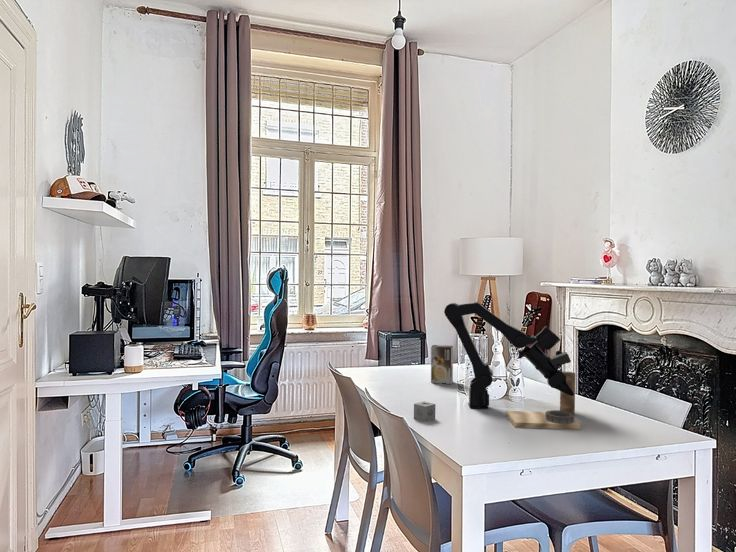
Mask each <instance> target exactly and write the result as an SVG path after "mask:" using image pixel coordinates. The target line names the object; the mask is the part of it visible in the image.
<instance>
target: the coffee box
mask: <svg viewBox="0 0 736 552" xmlns="http://www.w3.org/2000/svg"><path fill="white" fill-rule="evenodd" d="M453 349H454V346H453V345H447V344H445V345H444V344H441V345H440V344H432V345H431V347H430V372H431V373H430V383H432V384H442V383H446V384H445V385H452V384H453V383H454V377H453V376H454V373H453V372H454V371H453V370H454V365H453V364H454V359H453V358H454V356H453V355H454V353H453V352H454V350H453Z"/></svg>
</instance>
